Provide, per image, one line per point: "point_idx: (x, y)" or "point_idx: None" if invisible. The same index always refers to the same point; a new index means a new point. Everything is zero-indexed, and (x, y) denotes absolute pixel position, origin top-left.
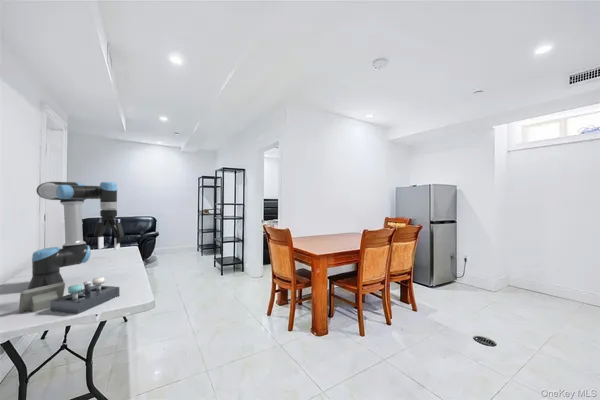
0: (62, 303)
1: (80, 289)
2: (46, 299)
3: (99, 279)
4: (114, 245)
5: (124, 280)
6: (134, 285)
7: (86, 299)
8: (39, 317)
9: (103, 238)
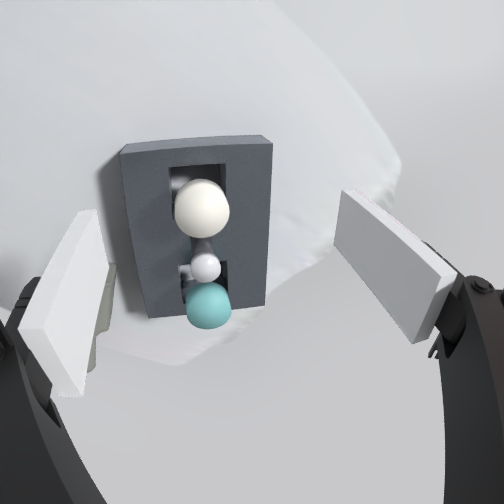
0: None
1: (228, 298)
2: (108, 307)
3: (220, 221)
4: (357, 271)
5: None
6: (217, 8)
7: (261, 279)
8: (170, 322)
9: (57, 303)
